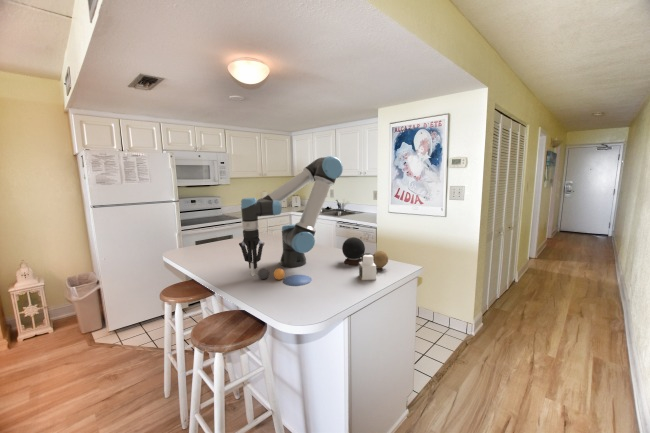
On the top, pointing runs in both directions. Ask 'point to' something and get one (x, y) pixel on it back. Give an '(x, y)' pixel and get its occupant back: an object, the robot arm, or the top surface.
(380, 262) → the tan sphere on base
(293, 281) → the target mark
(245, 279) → the top surface
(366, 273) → the medicine bottle
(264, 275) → the dark gray ball
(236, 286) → the top surface
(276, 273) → the object ball
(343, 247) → the black sphere on pedestal
